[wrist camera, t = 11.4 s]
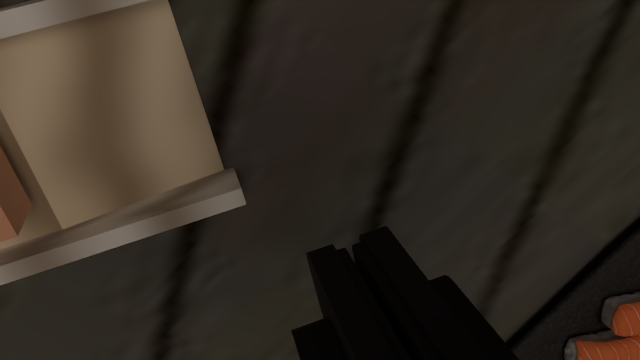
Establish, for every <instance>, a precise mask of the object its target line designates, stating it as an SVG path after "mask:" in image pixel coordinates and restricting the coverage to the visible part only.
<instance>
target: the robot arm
mask: <svg viewBox="0 0 640 360" xmlns="http://www.w3.org/2000/svg"><path fill="white" fill-rule="evenodd" d="M352 250H353V255H354V259H355V263H354V262H353V260H352V258H351V256H350V255H349V253H348V251H347V250H346V248H342V249H339V250H336V249H335V247H334V245H332V244H331V245H328V246H325V247H322V248H319V249H316V250H313V251H311V252H308V253H306V255H307V259H308V263H309V267H310V271H311V274H312V278H313V282H314V285H315V289H316V293H317V296H318V300H319V304H320V307H321V311H322V315H323V318H324V319H321V320H319V321H316V322H313V323H310V324H307V325H305V326H302V327H299V328H296V329H293V330H291V331H292V335H293V338H294V341H295V344H296V347H297V351H298V354H299V357H300V360H519V359H518V358H517V356H516V355H515V354H514V353H513V352H512V351H511V349H510V348H509V347H508V346H507V345H506V343H505V342H504V341H503V340H502V339H501V337H500V336H499V335H498V334H497V333H496V331H495V330H494V329H493V328H492V327H491V325H490V324H489V323H488V322H487V321H486V320H485V318H484V317H483V316H482V315H481V314H480V312H479V311H478V310H477V309H476V308H475V306H474V305H473V304H472V303H471V302H470V300H469V299H468V298H467V297H466V296H465V294H464V293H463V292H462V291H461V290H460V289H459V287H458V286H457V285H456V284H455V283H454V281H453V280H452V279H451V278H450V277H448V276H446V275H444V276H441V277H438V278H435V279H433V280H430V281H429V280H428V279H427V278H426V276H425V275H424V274H423V273H422V271H421V270H420V269H419V267H418V266H417V265H416V263H415V262H414V261H413V260H412V258H411V257H410V256H409V254H408V253H407V252H406V250H405V249H404V248H403V247H402V245H401V244H400V243H399V241H398V240H397V239H396V237H395V236H394V235H393V234H392V232H391V231H390V230H389V229H388V227H386V226H384V227H381V228H378V229H375V230H372V231H370V232H367V233H364V234H361V235H360V243H357V244H354V245H352ZM355 264H356V265H355Z"/></svg>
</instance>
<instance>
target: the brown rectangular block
mask: <svg viewBox="0 0 640 360" xmlns="http://www.w3.org/2000/svg"><path fill="white" fill-rule="evenodd" d="M31 206H32V204H31V202H30V200H29V198H28V196H27V194H26V193H25V191H24V189H23V187H22V185H21V183H20V182H19V180H18V178H17V176H16V174H15V172H14V170H13V169H12V167H11V165H10V163H9V161H8V159H7V157H6V156H5V154H4V152H3V150H2V148H1V146H0V242H2V241H5V240H9V239H12V238H15V237H18V235H19V233H20V231H21V228H22V226H23V224H24V222H25V219H26V217H27V215H28V213H29V210H30V208H31Z"/></svg>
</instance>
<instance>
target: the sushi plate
mask: <svg viewBox="0 0 640 360" xmlns="http://www.w3.org/2000/svg"><path fill="white" fill-rule="evenodd" d="M510 349H511V351H512V352H513V353H514V354H515V355H516V356H517V358H518V359H519V360H640V227H639V228H637V229H636V230H635V231H634V232H633V233H631V234H630V235H629V236H628V237H627V238H626V239H625V240H624V241H622V242H621V243H620V244H619V245H618V246H617V247H616V248H615V249H614V250H613V251H612V252H611V253H610V254H609V255H608V256H606V257H605V258H604V259H603V260H602V261H601V262H600V263H599V264H598V265H597V266H596V267H595V268H594V269H593V270H592V271H591V272H590V273H589V274H587V275H586V276H585V277H584V278H583V279H582V280H581V281H580V282H579V283H578V284H577V285H576V286H575V287H574V288H573V289H572V290H571V291H570V292H569V293H568V294H566V295H565V296H564V297H563V298H562V299H561V300H560V301H559V302H558V303H557V304H556V305H555V306H554V307H553V308H552V309H551V310H550V311H549V312H548V313H547V314H545V315H544V316H543V317H542V318H541V319H540V320H539V321H538V322H537V323H536V324H535V325H534V326H533V327H532V328H531V329H530V330H529V331H528V332H527V333H526V334H524V335H523V336H522V337H521V338H520V339H519V340H518V341H517V342H516V343H515V344H514V345H513V346H512V347H511V348H510Z"/></svg>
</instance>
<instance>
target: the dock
mask: <svg viewBox="0 0 640 360" xmlns="http://www.w3.org/2000/svg"><path fill="white" fill-rule="evenodd" d="M0 146H1V148H2V150H3V152H4V154H5V156H6V157H7V159H8V161H9V163H10V165H11V167H12V169H13V170H14V172H15V174H16V176H17V178H18V180H19V182H20V183H21V185H22V187H23V189H24V191H25V193H26V194H27V196H28V198H29V200H30V202H31V204H32V206H31V208H30V210H29V213H28V215H27V217H26V219H25V222H24V224H23V226H22V228H21V231H20V233H19V235H18V237H15V238H12V239H9V240H5V241H2V242H0V285H3V284H6V283H9V282H12V281H15V280H18V279H21V278H24V277H27V276H30V275H33V274H36V273H39V272H42V271H45V270H48V269H51V268H54V267H58V266H61V265H64V264H67V263H70V262H73V261H76V260H79V259H82V258H85V257H88V256H91V255H94V254H97V253H100V252H103V251H106V250H109V249H112V248H115V247H118V246H121V245H124V244H127V243H131V242H134V241H137V240H140V239H143V238H146V237H149V236H152V235H155V234H158V233H161V232H164V231H167V230H170V229H173V228H176V227H179V226H182V225H185V224H188V223H191V222H194V221H197V220H200V219H203V218H207V217H210V216H213V215H216V214H219V213H222V212H225V211H228V210H231V209H234V208H237V207H240V206H243V205H246V202H245V199H244V195H243V192H242V189H241V186H240V184H239V181H238V178H237V175H236V172H235V170H234V167H231V168H228V169H225V170H224V168H223V165H222V162H221V159H220V156H219V153H218V150H217V146H216V143H215V140H214V137H213V134H212V131H211V128H210V125H209V122H208V119H207V116H206V113H205V110H204V107H203V104H202V101H201V98H200V95H199V92H198V89H197V86H196V83H195V80H194V77H193V74H192V71H191V68H190V65H189V62H188V59H187V56H186V53H185V50H184V47H183V44H182V41H181V38H180V35H179V32H178V29H177V26H176V23H175V20H174V17H173V14H172V11H171V8H170V5H169V2H168V0H30V1H26V2H22V3H18V4H14V5H10V6H6V7H2V8H0Z"/></svg>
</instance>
